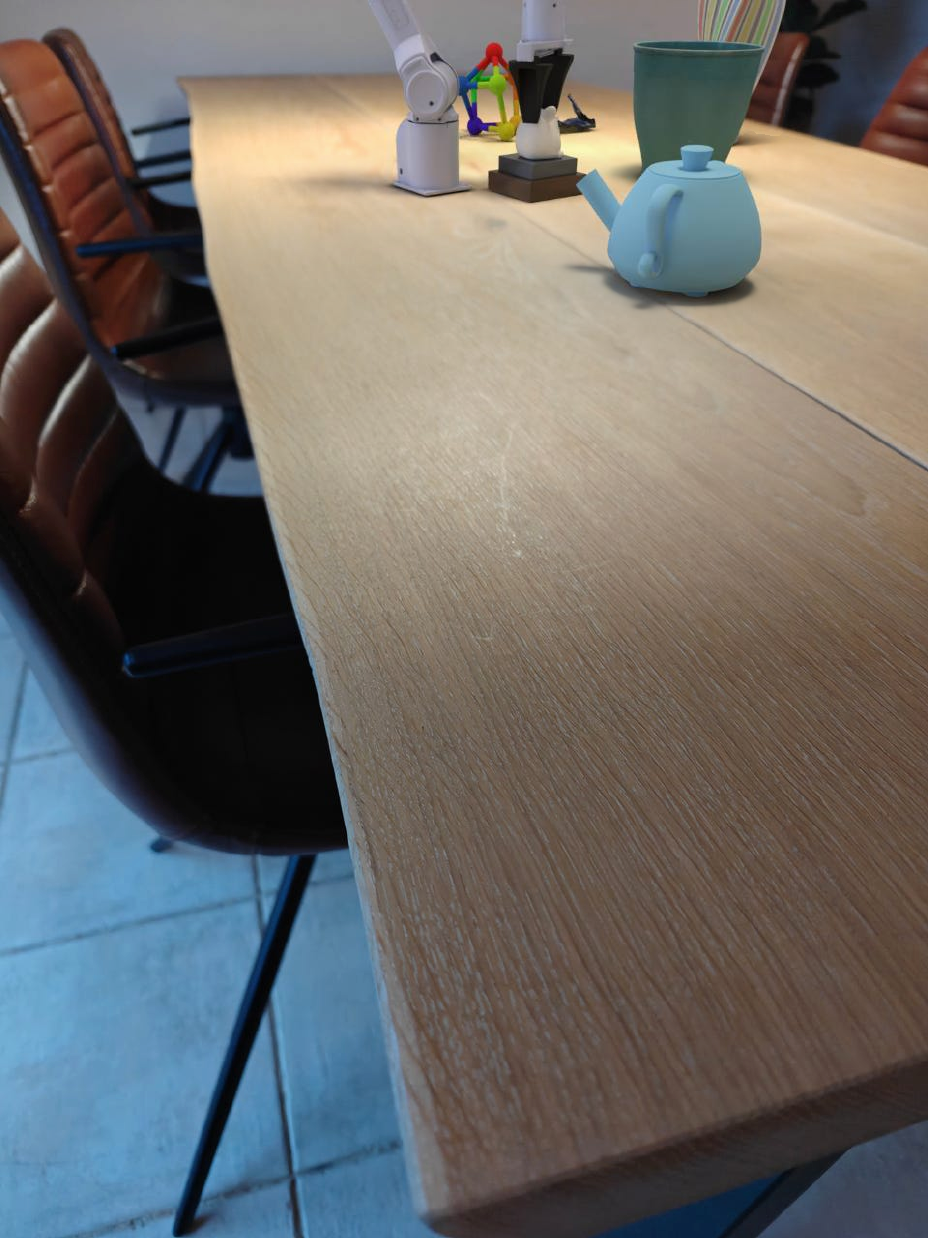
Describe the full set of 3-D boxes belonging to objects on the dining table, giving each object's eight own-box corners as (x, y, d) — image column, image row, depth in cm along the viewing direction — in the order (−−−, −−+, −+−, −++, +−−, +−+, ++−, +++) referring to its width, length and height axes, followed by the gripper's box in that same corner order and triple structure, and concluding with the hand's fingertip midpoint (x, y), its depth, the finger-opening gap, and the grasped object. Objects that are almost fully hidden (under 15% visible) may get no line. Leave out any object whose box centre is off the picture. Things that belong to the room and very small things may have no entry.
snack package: (585, 123, 175) (527, 122, 174) (590, 87, 170) (531, 86, 169) (597, 145, 167) (537, 144, 165) (603, 108, 162) (541, 107, 161)
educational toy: (458, 136, 169) (458, 42, 161) (525, 137, 168) (529, 43, 160) (448, 141, 156) (448, 40, 148) (521, 142, 155) (525, 40, 147)
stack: (487, 189, 127) (488, 154, 124) (542, 181, 132) (543, 147, 129) (530, 202, 120) (531, 166, 118) (585, 193, 125) (588, 158, 122)
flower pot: (666, 160, 144) (681, 36, 133) (764, 176, 133) (789, 43, 123) (597, 177, 134) (607, 44, 123) (697, 195, 123) (718, 52, 113)
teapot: (717, 320, 82) (743, 172, 75) (530, 287, 91) (536, 150, 83) (778, 268, 95) (805, 137, 88) (610, 243, 104) (621, 122, 96)
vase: (768, 140, 158) (807, -72, 140) (744, 152, 149) (782, -73, 131) (697, 133, 164) (725, -70, 146) (669, 144, 155) (696, -71, 137)
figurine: (570, 160, 121) (573, 105, 117) (526, 163, 120) (528, 107, 116) (548, 149, 127) (551, 97, 123) (507, 152, 126) (508, 99, 122)
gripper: (557, 0, 106) (550, 128, 114) (590, -5, 116) (582, 112, 125) (502, -1, 108) (500, 125, 116) (540, -6, 118) (535, 110, 127)
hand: (539, 118), depth 120 cm, fingers open, 7 cm apart
